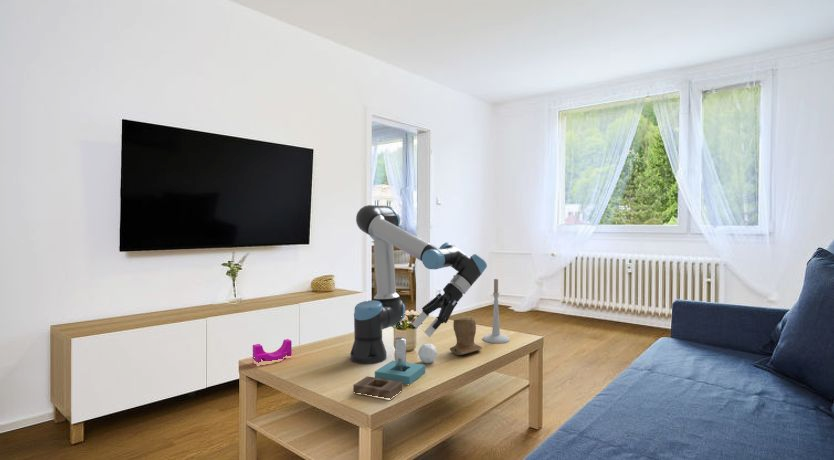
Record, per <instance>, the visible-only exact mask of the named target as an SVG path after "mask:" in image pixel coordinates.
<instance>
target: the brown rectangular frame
mask: <svg viewBox="0 0 834 460" xmlns="http://www.w3.org/2000/svg"><path fill="white" fill-rule="evenodd" d="M352 386H353V389H352V390H353V391H352V393H353V392H355V393H361V394H367V395H372V396H378V397H384V398H390V399H391V398H392V397H393V396H395V395H396V394H398V393H399V392H400V391H402V390H404V388H403V387H404V384H403V382H399V381H393V380H387V379H381V378H375V376H370V375H369V376H365V377H364V378H362V379H361V380H359V381H358V382H356V383H354V384H352ZM402 392H403V391H402ZM400 393H401V392H400ZM400 393H399V394H400ZM399 394H398V395H399ZM395 397H396V396H395Z"/></svg>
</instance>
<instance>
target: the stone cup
mask: <svg viewBox="0 0 834 460" xmlns="http://www.w3.org/2000/svg"><path fill="white" fill-rule="evenodd" d="M452 324H453V325H452V326H453V331H454V335H455V339H456V344H455V345H454V346H452V347H449V351H451V353H452V354H454V355H456V356H463V355H467V354H471V353H474V352H476V351H479V350H480V351H481V350H482V349H483V347H482V346H481V345H479V344H476V343H475V336H476V332H477V331H476V330H477V323H476V320H475V318H473V317H458V318H455V319H453V323H452Z"/></svg>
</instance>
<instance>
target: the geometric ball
mask: <svg viewBox="0 0 834 460" xmlns="http://www.w3.org/2000/svg"><path fill="white" fill-rule="evenodd" d="M417 355H418V357H419V360H420V361H421V362H422V363H424V364H431V363H434V362H435V360H437V356H438V351H437V348H436V346H435V345H434V344H432V343H424V344H422V345H421V346H420V347H419V348H418V352H417Z"/></svg>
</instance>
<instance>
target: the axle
mask: <svg viewBox="0 0 834 460" xmlns="http://www.w3.org/2000/svg"><path fill="white" fill-rule="evenodd" d="M394 344H395V345H394V349H395V351H394V357H395V359H394V361H395V370H396V371H402V372H405V371H406V362H407V339H406V338H405V337H403V336H402V337H396V338H395V339H394Z"/></svg>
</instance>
